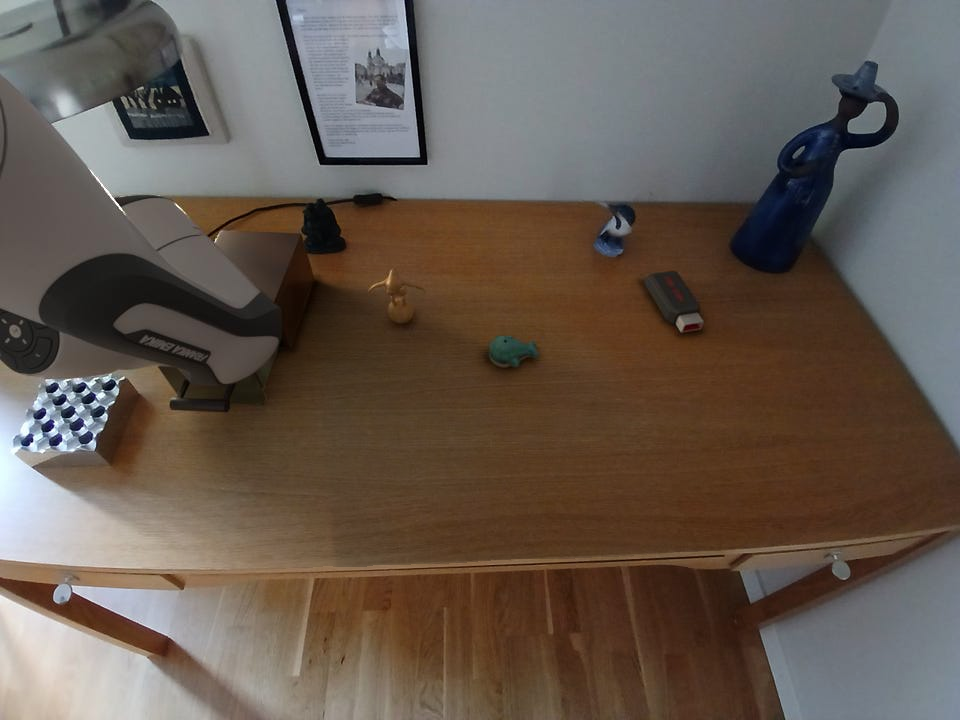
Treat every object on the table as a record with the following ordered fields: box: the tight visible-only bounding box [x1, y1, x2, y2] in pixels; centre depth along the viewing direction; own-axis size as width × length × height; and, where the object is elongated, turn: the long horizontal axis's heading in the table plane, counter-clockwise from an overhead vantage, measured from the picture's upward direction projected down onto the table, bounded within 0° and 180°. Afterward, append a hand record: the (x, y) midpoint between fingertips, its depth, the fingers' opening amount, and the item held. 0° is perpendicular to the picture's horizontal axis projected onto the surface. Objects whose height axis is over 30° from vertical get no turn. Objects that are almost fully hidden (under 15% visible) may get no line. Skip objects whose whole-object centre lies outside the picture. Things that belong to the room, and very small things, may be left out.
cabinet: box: [214, 229, 316, 350], centre depth 85 cm, size 16×13×10 cm
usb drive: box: [644, 270, 705, 333], centre depth 90 cm, size 5×12×3 cm, turn 13°
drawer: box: [157, 338, 282, 413], centre depth 76 cm, size 19×11×8 cm, turn 177°
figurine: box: [367, 268, 426, 324], centre depth 83 cm, size 8×6×12 cm
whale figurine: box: [488, 334, 540, 368], centre depth 82 cm, size 6×7×4 cm
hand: (210, 321), depth 72 cm, fingers closed on pill bottle, 7 cm apart
